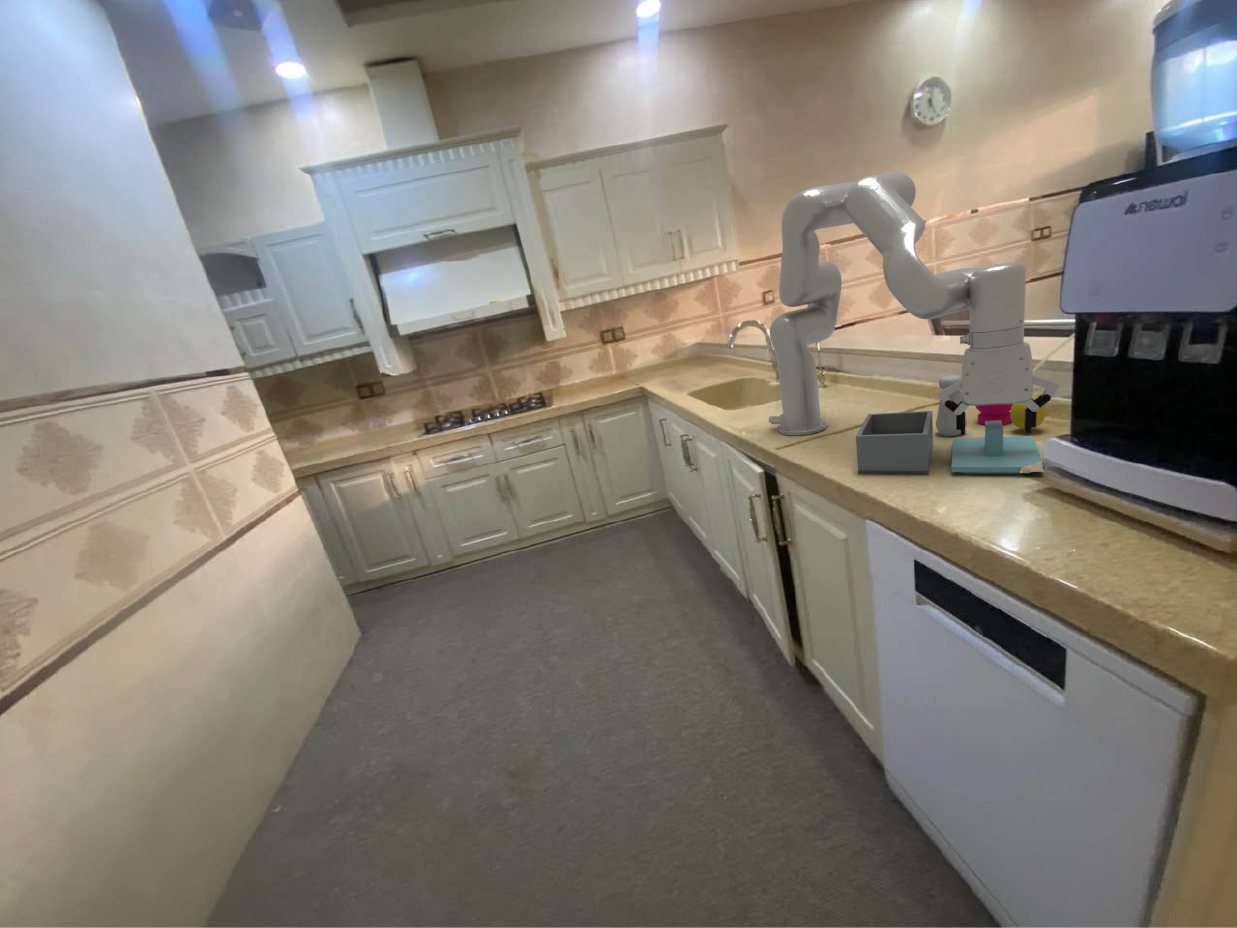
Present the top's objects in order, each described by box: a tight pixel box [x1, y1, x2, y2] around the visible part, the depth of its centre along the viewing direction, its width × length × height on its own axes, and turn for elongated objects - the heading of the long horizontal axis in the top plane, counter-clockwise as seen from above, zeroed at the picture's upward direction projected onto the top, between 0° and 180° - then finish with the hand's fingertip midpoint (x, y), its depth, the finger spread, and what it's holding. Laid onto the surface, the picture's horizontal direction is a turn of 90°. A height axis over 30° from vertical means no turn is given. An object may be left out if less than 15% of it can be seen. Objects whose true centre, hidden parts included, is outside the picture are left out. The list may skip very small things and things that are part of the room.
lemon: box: [1009, 394, 1046, 432], centre depth 100 cm, size 6×6×8 cm
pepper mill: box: [974, 404, 1013, 426], centre depth 108 cm, size 7×7×20 cm
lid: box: [951, 420, 1043, 475], centre depth 91 cm, size 13×17×7 cm
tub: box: [855, 410, 934, 476], centre depth 100 cm, size 12×16×8 cm
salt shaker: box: [935, 374, 968, 437], centre depth 107 cm, size 6×6×13 cm
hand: (994, 432), depth 91 cm, fingers open, 9 cm apart
